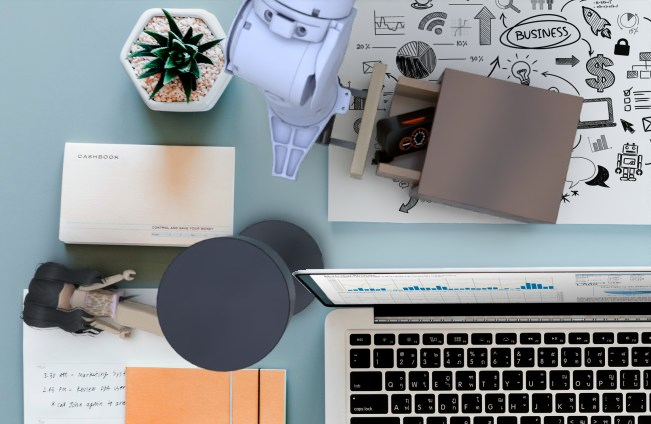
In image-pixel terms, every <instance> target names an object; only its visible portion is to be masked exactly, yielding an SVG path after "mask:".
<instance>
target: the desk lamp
mask: <svg viewBox="0 0 651 424" xmlns="http://www.w3.org/2000/svg"><path fill="white" fill-rule="evenodd" d="M322 254H323V253H322V251H321V249H320V247H319V245H318V244H317V242H316V240H315V239H314V238H313V237H312V235H311V234H310V233H309V232H308V231H306V230H305V229H304V228H302V227H301V226H299V225H297V224H295V223H293V222H291V221H290V222H289V221H287V220H280V219H270V220H269V219H268V220H263V221H259V222H255V223H253V224H251V225H249V226H247V227H246V228H245V229H243V230H242V231H241V232H240V233H239V234H238V235H223V236H215V237H210V238H206V239H202V240H200V241H197V242H194V243H193V244H191V245H189V246H187V247H185V249H183V250H181V251H180V252H179V253H178V254H177V255H176V256H175V257H174V258H173V259H172V261H170V263H169V264H168V265H167V267H166V269H165V271H164V272H163V274H162V276H161V278H160V281H159V284H158V288H157V293H156V303H155V305H156V306H155V308H157V317H158V321H159V325H160V327H161V330H162V333H163V334H164V336H163V337H164V338H165V340H166V342H167V344H168V345H169V346H170V347H171V348H172V349H173V350H174V352H175V353H176V354H177V355H179V356H180V357H181V358H182V359H183V360H185V361H186V362H188V363H189V364H191V365H193V366H195V367H198V368H200V369H204V370H207V371H211V372H218V373H228V372H236V371H240V370H245V369H247V368H249V367H253V366H254V365H256V364H257V363H259V362H261V361H263V359H265V358H266V357H267V356H268V355H270V353H271V352H272V351H273V350H274V349H275V348H276V347H277V346H278V344H279V343H280V341H281V339H282V338H283V336H284V335H285V333H286V331H287V329H288V328H289V325H290V324H291V320H292V319H293V317H294V316H295V315H297V314H300V313H301V312H302V311H304V310H305V309H306V308H307V307H309V306H310V305H311V303H312V302H313V301H314V300H315V298H316V297H315V296H314V295H313V294H312V293H310V292H309V291H308V290H307V289H306V288H305V287H304V286H303V285H302V284H301V283H300V282H299V281H298V280H297V279H296V278H295V277H294V276H293V275H292V273H293V272H295V271H298V270H306V269H325V266H324V259H323V255H322Z"/></svg>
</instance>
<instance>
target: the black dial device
mask: <svg viewBox="0 0 651 424" xmlns="http://www.w3.org/2000/svg"><path fill="white" fill-rule="evenodd" d="M435 109H436V108H435V107H433V106H432V107H427V108H423V109H419V110H415V111H411V112H407V113H403V114H399V115H395V116H392V117H383V118H381V119H378V120H377V121H376V123H375V131H376V141H377V144H378V145H379V147H382V148H383V150H381V149H375V151H374V154H373V157H372V158H371V162H370V164H371V166H377V165H378V163H390V162H392V161H393V160H394V157H398V156H401V155H405V154H409V153H413V152H416V151H420V150H424V149H427V144H428V140H429V135H430V131H431V126H432V122H433V117H434V113H435Z"/></svg>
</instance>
